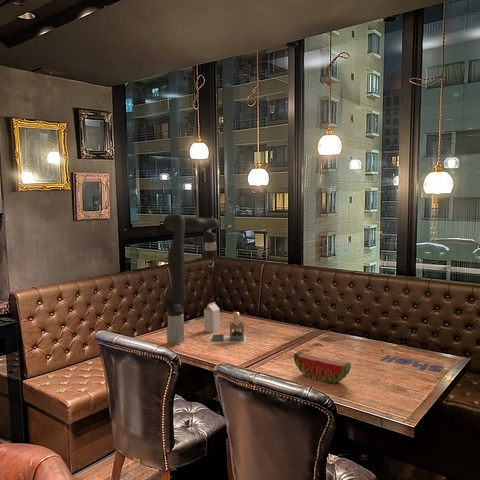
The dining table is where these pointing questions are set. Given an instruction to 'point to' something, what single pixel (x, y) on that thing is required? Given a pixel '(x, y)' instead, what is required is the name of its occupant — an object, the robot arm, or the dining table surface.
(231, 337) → the collar stand
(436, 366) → the signage
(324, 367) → the fruit slice
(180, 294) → the robot arm
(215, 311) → the milk carton
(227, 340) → the base board
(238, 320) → the brass tube
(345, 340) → the dining table surface
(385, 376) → the dining table surface
